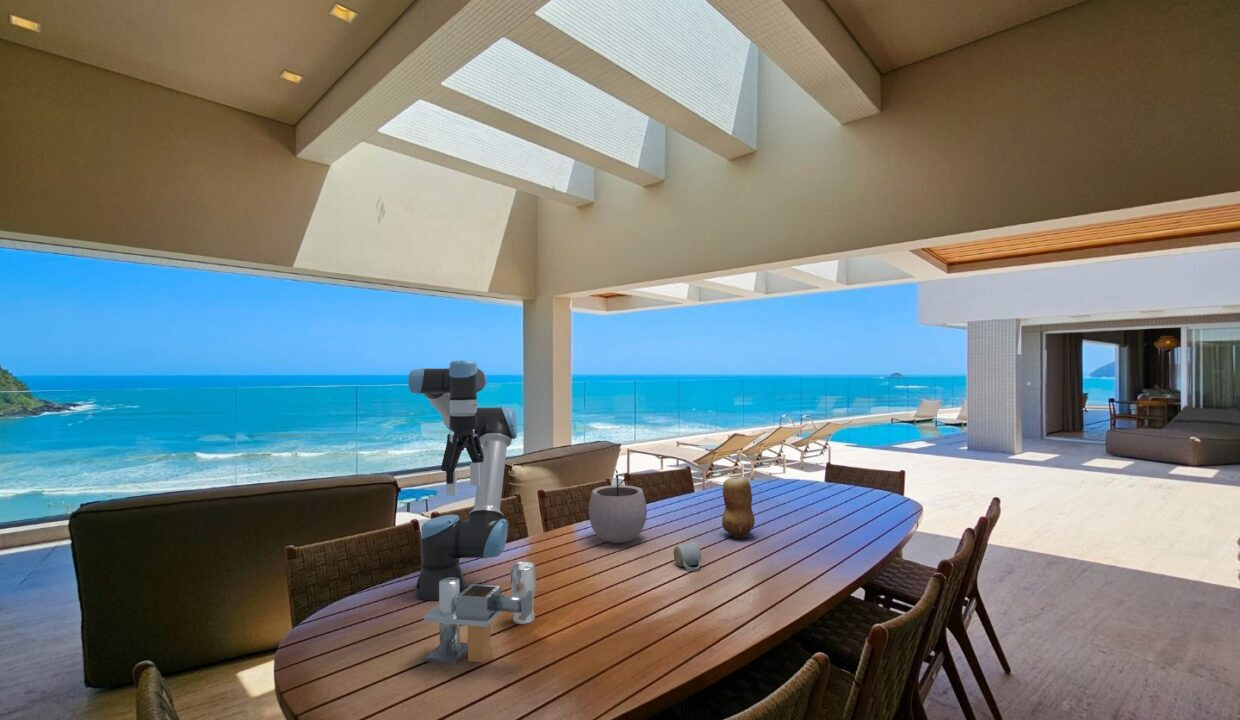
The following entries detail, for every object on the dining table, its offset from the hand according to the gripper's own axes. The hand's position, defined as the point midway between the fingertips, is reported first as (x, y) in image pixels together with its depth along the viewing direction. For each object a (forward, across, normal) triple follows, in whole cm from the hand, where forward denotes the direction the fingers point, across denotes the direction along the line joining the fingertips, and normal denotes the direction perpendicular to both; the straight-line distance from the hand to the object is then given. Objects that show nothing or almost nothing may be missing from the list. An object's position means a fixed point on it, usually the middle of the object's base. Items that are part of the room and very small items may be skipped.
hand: (463, 490), depth 150 cm
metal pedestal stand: (+37, -17, -9) cm, 41 cm away
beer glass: (+37, +4, -16) cm, 40 cm away
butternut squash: (+37, +90, -77) cm, 124 cm away
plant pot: (+37, +77, -28) cm, 90 cm away
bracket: (+26, -17, -17) cm, 35 cm away
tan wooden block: (+37, -17, -13) cm, 43 cm away
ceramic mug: (+37, +53, -59) cm, 88 cm away
